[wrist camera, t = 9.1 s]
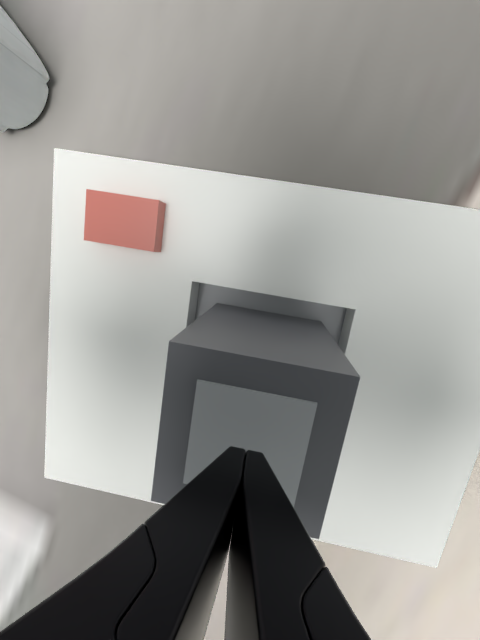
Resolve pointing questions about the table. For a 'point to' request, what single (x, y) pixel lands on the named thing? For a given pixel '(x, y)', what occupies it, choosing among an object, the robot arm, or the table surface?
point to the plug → (256, 403)
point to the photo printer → (19, 78)
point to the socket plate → (276, 297)
